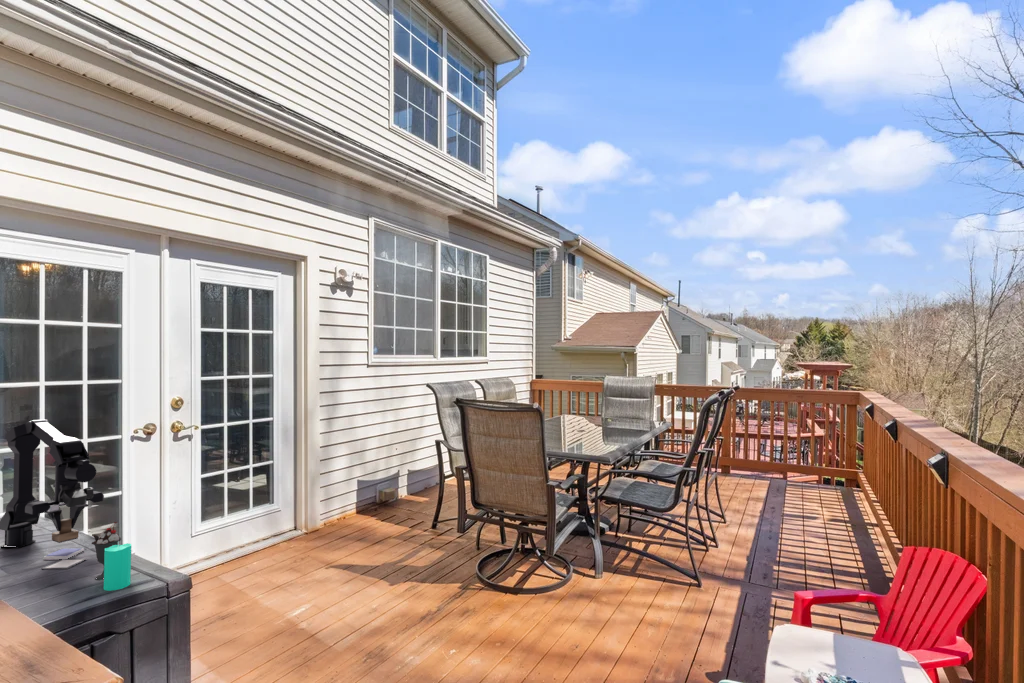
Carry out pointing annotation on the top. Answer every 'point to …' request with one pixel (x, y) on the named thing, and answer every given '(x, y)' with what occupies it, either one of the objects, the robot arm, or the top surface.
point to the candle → (117, 567)
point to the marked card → (64, 564)
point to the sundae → (105, 544)
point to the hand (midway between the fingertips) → (65, 529)
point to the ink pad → (63, 554)
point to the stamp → (65, 532)
